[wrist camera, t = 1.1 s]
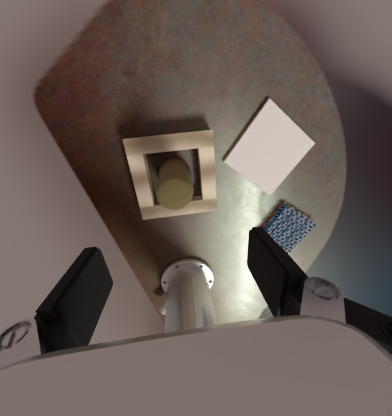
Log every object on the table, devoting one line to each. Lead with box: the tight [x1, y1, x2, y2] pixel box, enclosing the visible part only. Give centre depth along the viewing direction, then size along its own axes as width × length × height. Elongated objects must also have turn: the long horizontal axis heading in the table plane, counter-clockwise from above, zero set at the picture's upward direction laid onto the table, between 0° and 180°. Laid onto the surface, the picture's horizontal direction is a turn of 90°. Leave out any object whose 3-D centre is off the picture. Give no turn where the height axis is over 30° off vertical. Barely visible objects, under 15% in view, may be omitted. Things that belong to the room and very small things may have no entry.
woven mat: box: [262, 202, 316, 254], centre depth 39 cm, size 10×11×2 cm
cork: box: [155, 159, 193, 210], centre depth 27 cm, size 6×6×11 cm
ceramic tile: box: [223, 98, 315, 196], centre depth 31 cm, size 12×12×1 cm
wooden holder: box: [123, 130, 217, 220], centre depth 30 cm, size 14×14×2 cm
